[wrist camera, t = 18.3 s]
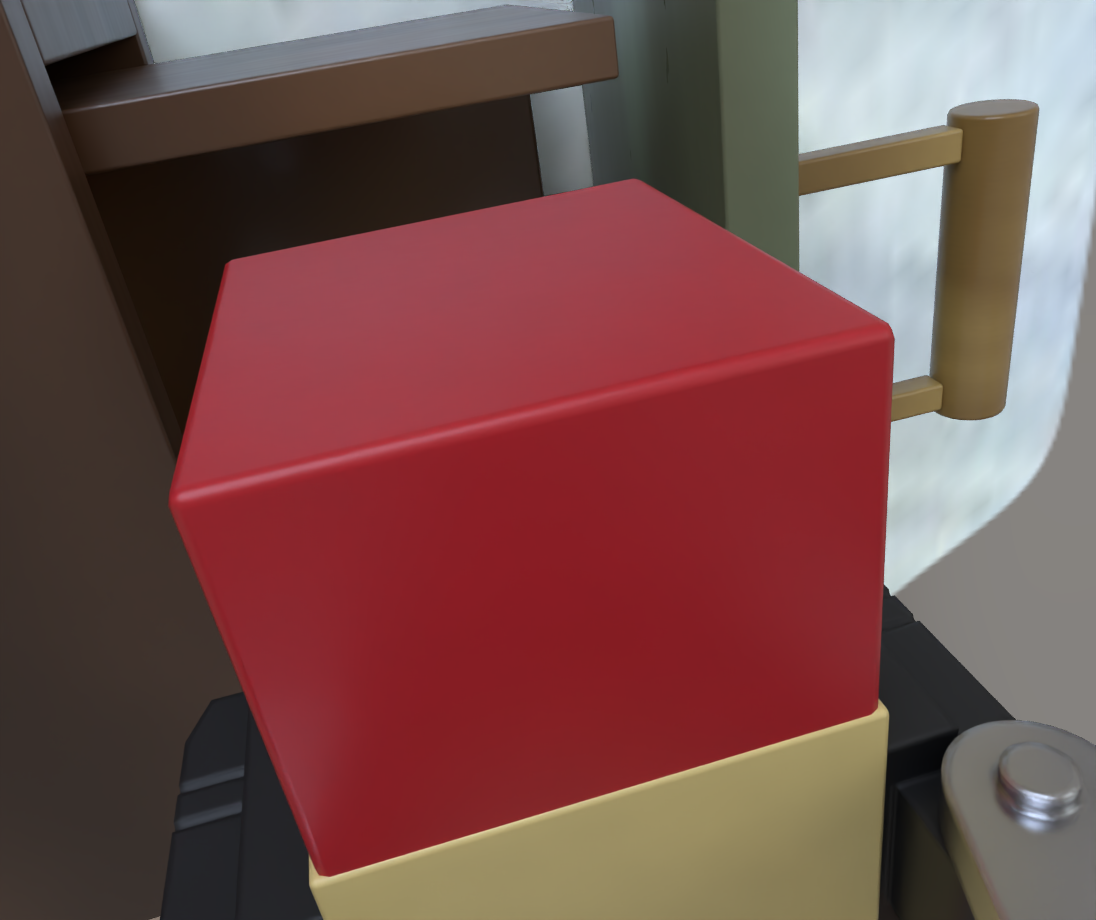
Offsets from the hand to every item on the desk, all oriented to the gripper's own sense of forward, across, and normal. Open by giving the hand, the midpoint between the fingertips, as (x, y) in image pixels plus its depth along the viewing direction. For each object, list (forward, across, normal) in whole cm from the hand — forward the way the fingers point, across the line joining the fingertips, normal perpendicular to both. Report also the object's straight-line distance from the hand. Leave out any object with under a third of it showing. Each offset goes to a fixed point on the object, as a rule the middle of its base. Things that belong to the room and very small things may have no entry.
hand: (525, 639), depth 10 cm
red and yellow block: (+1, 0, 0) cm, 1 cm away
